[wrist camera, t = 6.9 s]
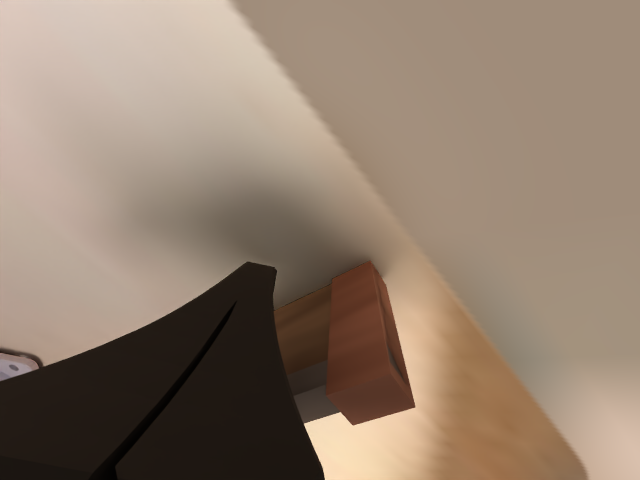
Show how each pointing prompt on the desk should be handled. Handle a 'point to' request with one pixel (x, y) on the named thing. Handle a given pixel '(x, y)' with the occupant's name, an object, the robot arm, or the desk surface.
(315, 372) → the brown flat bar
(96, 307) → the desk surface
